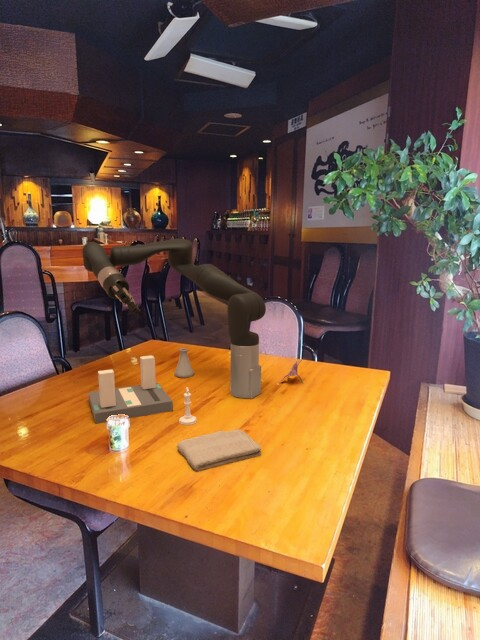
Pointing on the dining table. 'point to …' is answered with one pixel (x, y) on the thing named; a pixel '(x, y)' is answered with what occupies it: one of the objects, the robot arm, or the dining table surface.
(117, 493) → the dining table surface
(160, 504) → the dining table surface
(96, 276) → the robot arm
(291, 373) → the lily
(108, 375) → the tab
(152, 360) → the tab
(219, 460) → the washcloth
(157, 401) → the switch bank
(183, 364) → the flask
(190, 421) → the chess piece
